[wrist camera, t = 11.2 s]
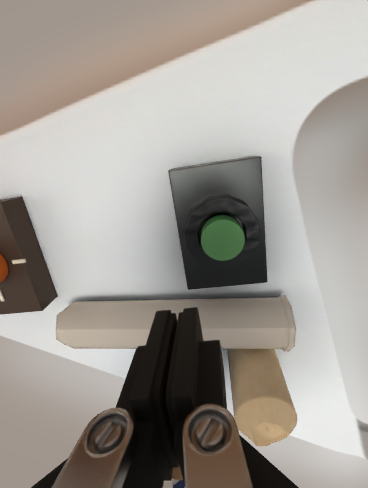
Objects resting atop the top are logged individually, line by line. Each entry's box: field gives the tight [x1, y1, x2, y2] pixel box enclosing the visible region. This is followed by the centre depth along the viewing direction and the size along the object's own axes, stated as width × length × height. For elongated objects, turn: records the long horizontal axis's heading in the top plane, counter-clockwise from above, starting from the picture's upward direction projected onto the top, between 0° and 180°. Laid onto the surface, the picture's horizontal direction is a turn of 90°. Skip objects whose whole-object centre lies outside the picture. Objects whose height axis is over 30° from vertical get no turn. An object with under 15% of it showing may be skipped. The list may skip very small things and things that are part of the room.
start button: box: [201, 215, 245, 261], centre depth 22 cm, size 4×4×2 cm
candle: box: [228, 349, 297, 446], centre depth 27 cm, size 6×6×10 cm
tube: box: [56, 295, 296, 351], centre depth 28 cm, size 5×5×25 cm
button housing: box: [169, 156, 267, 289], centre depth 24 cm, size 12×8×4 cm, turn 9°
